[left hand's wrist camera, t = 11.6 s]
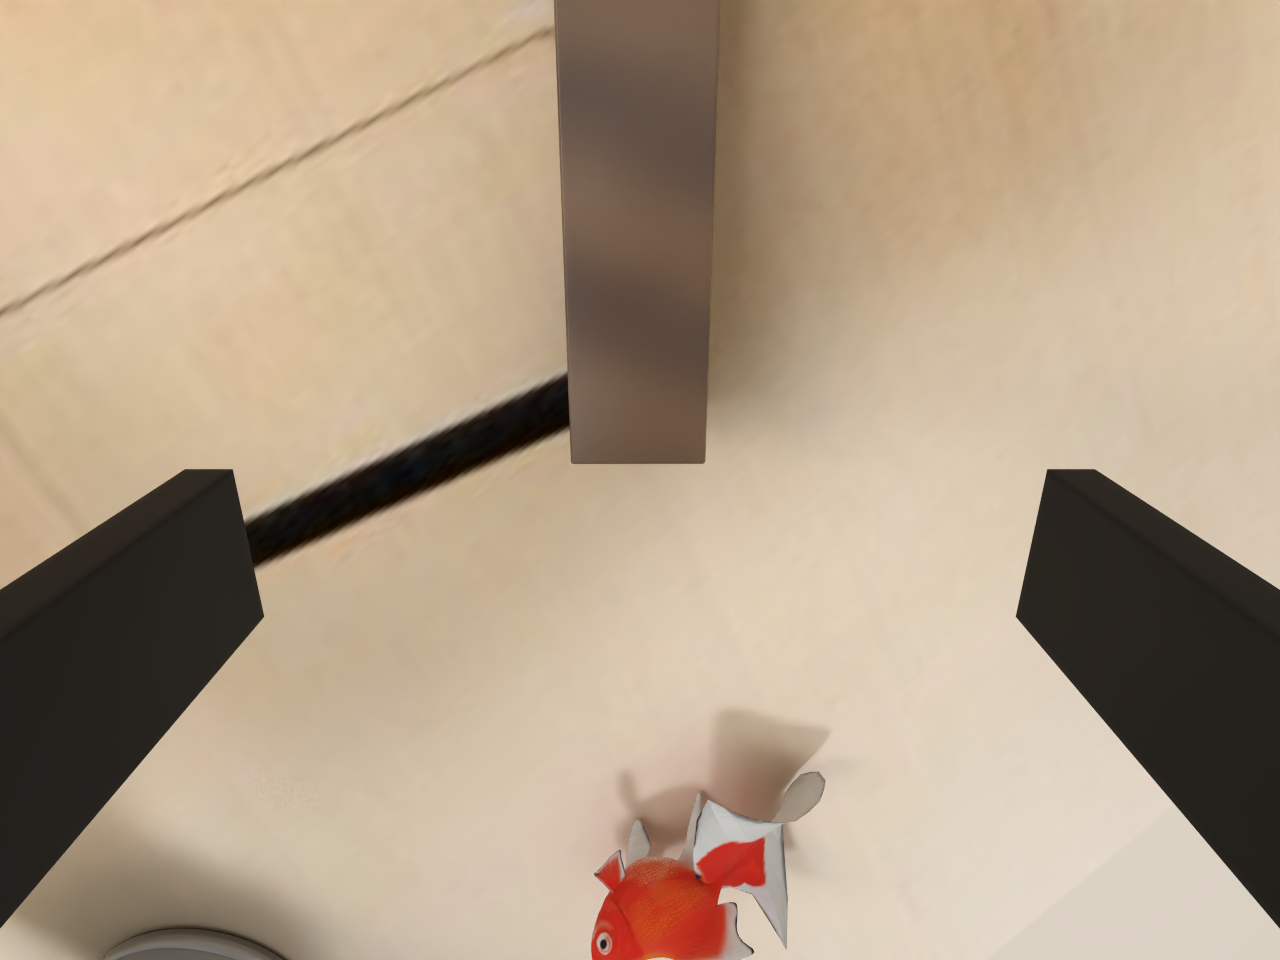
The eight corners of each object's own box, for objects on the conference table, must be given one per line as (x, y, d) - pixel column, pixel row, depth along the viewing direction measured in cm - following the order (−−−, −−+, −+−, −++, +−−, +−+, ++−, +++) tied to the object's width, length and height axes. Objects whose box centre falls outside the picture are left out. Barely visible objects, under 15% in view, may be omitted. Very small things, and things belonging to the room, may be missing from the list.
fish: (517, 826, 40) (605, 1016, 33) (756, 671, 44) (881, 809, 37) (568, 905, 47) (650, 1076, 40) (771, 764, 51) (878, 895, 44)
